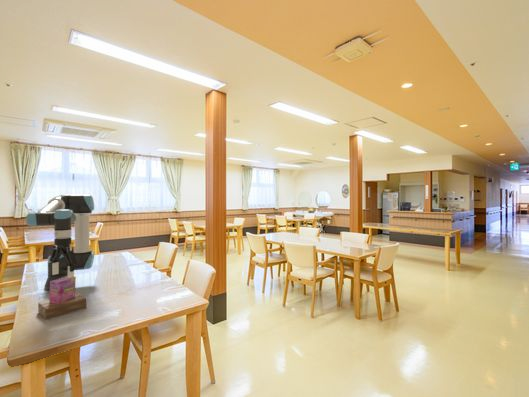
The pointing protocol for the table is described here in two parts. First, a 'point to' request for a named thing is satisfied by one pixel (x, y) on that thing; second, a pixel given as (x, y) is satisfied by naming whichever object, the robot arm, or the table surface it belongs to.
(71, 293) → the box
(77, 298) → the block
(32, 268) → the table surface
